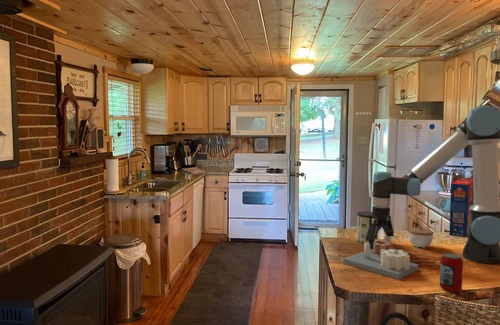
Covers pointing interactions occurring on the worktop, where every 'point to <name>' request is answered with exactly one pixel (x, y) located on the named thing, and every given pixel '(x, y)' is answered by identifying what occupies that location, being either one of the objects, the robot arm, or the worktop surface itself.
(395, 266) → the cream gear
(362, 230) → the coffee can
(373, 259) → the gear board
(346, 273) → the worktop surface
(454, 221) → the pasta box
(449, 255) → the beverage can
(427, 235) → the lidded jar
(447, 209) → the teapot
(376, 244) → the rust gear
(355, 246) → the worktop surface
